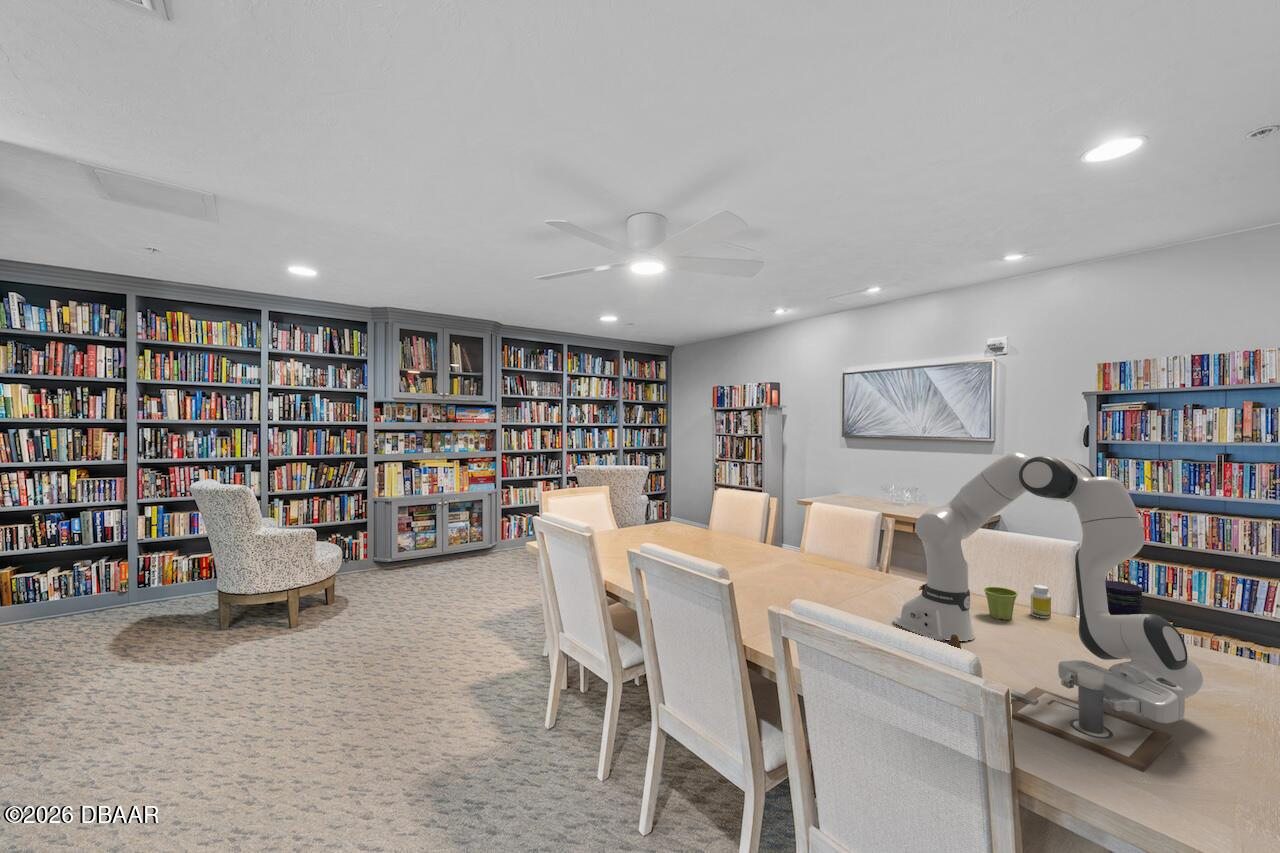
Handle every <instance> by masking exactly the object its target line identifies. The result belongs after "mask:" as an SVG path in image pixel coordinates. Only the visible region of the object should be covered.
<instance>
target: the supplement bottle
mask: <svg viewBox="0 0 1280 853" xmlns="http://www.w3.org/2000/svg"><path fill="white" fill-rule="evenodd" d="M1032 587H1033V591H1031V593H1030V615H1032V616H1033V617H1035V616H1036V618H1039V617H1040V619H1050V618H1051V617H1052V613H1051V612H1052V596H1051V595H1050V593H1049V587H1048V586H1046V585H1042V584H1034V585H1033V586H1032Z"/></svg>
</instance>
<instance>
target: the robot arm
mask: <svg viewBox="0 0 1280 853" xmlns="http://www.w3.org/2000/svg"><path fill="white" fill-rule="evenodd" d="M1027 492H1029V493H1031V494H1032V495H1034V496H1037V497H1040V498H1044V499H1048V500H1051V501H1057V502H1058V501H1063V502H1067V503H1071V504H1073V506H1074V508H1075V509H1076V511H1077V514H1078V518H1079V521H1080V525H1081V529H1082V530H1081V532H1082V539H1081V544H1080V547H1079V548H1078V550H1077V551H1076V553H1075V557H1074V558H1075V560H1074V561H1075V562H1074V565H1075V566H1074V567H1075V577H1076V587H1077V598H1078V599H1077V600H1078V604H1079V605H1078V607H1079V608H1078V610H1079V619H1078V620H1079V621H1078V637H1079V639H1080V641H1081V644H1083V645H1084V647H1085V648H1086V649H1087V650H1088V651H1089V652H1090V653H1092V655H1094V656H1096V657H1097V658H1099V659H1101V660H1104V661H1105V660H1106V661H1111V660H1130V661H1123V662H1119V663H1115V664H1112V665H1111V666H1110V667H1109V668H1108V669H1107V668H1105V667H1102V666H1099V665H1098V664H1095V663H1092V662H1090V661H1087V660H1078V659H1077V660H1065V661H1059V662H1058V666H1057V673H1058V677H1059V678H1060V680H1061V681H1060V684H1061V686H1062V687H1065V688H1066V689H1067V688H1068V689H1073V688H1075V686H1077V687H1078V667H1090V668H1094V669H1097V670H1099V671H1101V672H1103V673H1104V689H1103V699H1105V700H1107V701H1109V702H1108V703H1109V705H1108V706H1109V708H1111V709H1112V710H1115V711H1116V712H1122V711H1123V712H1128V713H1129V712H1130V713H1136V714H1138V715H1140V716H1142V717H1145V718H1146V719H1149V720H1152V721H1154V722H1155V723H1160V724H1172V723H1174V722H1177V721H1182V720H1184V716H1185V709H1186V702H1185V700H1186V699H1187V698H1188V699H1189V698H1190V697H1192V696H1194V695H1196V694H1197V693H1198V692H1199V691H1200V690H1201V688H1202V686H1203V684H1204V677H1203V674H1202V671H1201V669H1200V668H1199V667H1198V666H1197V664H1196V663H1195V662H1194V661H1193V660H1191V659H1190V658H1189V657H1188V650H1187V646H1186V643H1185V641H1184V638H1183V637H1182V635H1181V633H1180V632H1179V631H1178V630H1177V628H1176V627H1175V626H1174V625H1173V624H1172V623H1171V622H1170V621H1168V620H1167V619H1165V618H1163V617H1162V616H1160V615H1158V614H1155V613H1154V614H1153V613H1149V614H1148V613H1147V614H1146V613H1141V614H1130V615H1110V613H1109V611H1108V604H1107V595H1106V586H1105V581H1107V580H1106V579H1107V577H1108V574H1109V573H1110V572H1111V570H1113V569H1114V568H1115V567H1117V566H1118V565H1120V564H1122V563H1124V562H1126V561H1128V560H1130V559H1131V558H1133V557H1134V556H1136V555H1137V554H1138V553H1140V551H1141V550H1142V548H1143V546H1144V545H1145V538H1146V537H1145V530H1144V528H1143V525H1142V521H1141V518H1140V516H1139V513H1138V510H1137V508H1136V505H1135V504H1134V501H1133V499H1132V497H1131V495H1130V493H1129V492H1128V490H1127V489H1126V487H1125V485H1124V484H1123V482H1121V481H1120V480H1119V479H1117V478H1114V477H1110V476H1104V475H1103V476H1102V475H1101V476H1095V474H1094V473H1093V471H1091V469H1089V468H1088V467H1086V465H1083V464H1081V463H1077V462H1074V461H1072V460H1069V459H1066V458H1058V457H1053V456H1051V455H1050V456H1048V455H1041V456H1035V457H1030V456H1029V455H1027V454H1026V453H1023V452H1019V451H1018V452H1017V451H1016V452H1010V453H1007V454H1006V455H1004V456H1002V457H1000V458H998V459H997V460H996V461H994V462H992V463H990V464H989V465H988V466H987V467H986V468H984V469H983V470H981V471H980V472H979V473H977V475H976V476H973V478H971V480H970V481H968V482H967V483H966V484H964V485H963V486H962V487H961V488H960V490H959V491H958V493H956V495H955V496H954V497H953V498H952V499H951V500H950V501H948V503H946V504H945V505H942V506H940V507H936V508H932V509H929V510H927V511H925V512H924V513H922V514H921V515H920V516H919V517H918V519H917V520H916V522H915V527H914V528H915V532H916V535H917V537H918V538H919V539H920V540H921V542H922V545H923V546H922V547H923V550H924V554H925V558H926V583H924V584H922V585H920V586H919V587H918V591H921V594H918V596H915V597H914V598H911V599H910V600H908V601H906V602H905V603H904V604H903V605H902V608H901V612H900V614H899V615H897V616H895V617H894V618H893V621H892V622H893V624H894V625H896V624H897V625H896V626H898V625H899V626H898V627H901V626H902V627H901V628H903V629H905V630H906V631H910V632H912V633H914V634H917V635H919V634H920V635H919V636H921V635H923V636H922V637H924V636H927V637H929V638H933V639H935V640H934V641H945V640H946V639H951V635H957V636H958V639H959V641H960V640H962V641H965V642H969V641H968V640H971V641H973V640H974V639H975V638H976V636H975V633H974V630H973V624H972V621H971V617H970V616H971V614H970V608H971V592H970V591H971V590H970V589H969V564H968V561H967V560H966V559H965V556H964V552H963V548H962V541H963V540H966V539H968V538H969V537H971V536H972V535H974V534H975V533H976V532H977V531H978V530H980V529H981V528H982V527H983V526H984V525H985V524H986V523H987V522H988V521H989V520H990V519H991V518H993V517H994V516H995V515H996V514H998V513H999V512H1001V511H1002V510H1003V509H1005V508H1006V507H1007V506H1009V505H1010V504H1011V503H1012V502H1014V501H1015V500H1017V499H1018V498H1019V497H1021V496H1022V495H1023V494H1025V493H1027ZM913 630H914V631H913ZM943 639H945V640H943Z"/></svg>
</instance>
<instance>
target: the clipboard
mask: <svg viewBox="0 0 1280 853" xmlns="http://www.w3.org/2000/svg"><path fill="white" fill-rule="evenodd" d="M1010 693H1011V698H1013V699H1015V700H1013V701H1012V702H1011V703H1012V717H1011V718H1012V719H1015V720H1017V721H1019V722H1021V723H1025V724H1027V725H1030V726H1032V727H1034V728H1036V729H1039V730H1041V731H1043V732H1046V733H1049V734H1052V735H1054V736H1056V737H1059V738H1061V739H1064V740H1067V741H1069V742H1071V743H1073V744H1075V745H1079V746H1081V747H1083V748H1086V749H1088V750H1091V751H1093V752H1095V753H1098V754H1101V755H1103V756H1105V757H1108V758H1110V759H1113V760H1115V761H1117V762H1120V763H1122V764H1125V765H1127V766H1130V767H1132V768H1134V769H1137V770H1139V771H1143V772H1144V771H1145V770H1146V769H1147V768H1148V767H1149V766H1150V765H1151V764H1152V763H1153V761H1154V760H1155V759H1156V758H1157V757H1158V756H1159V755H1160V754H1161V752H1162V751H1163V750H1164V749H1165V748H1166V746H1167V745H1168V744H1169V742H1171V741H1170V740H1172V739H1173V738H1172V737H1173V735H1172V734H1169V733H1167V732H1165V731H1161V730H1158V729H1155V728H1153V727H1150V726H1146V725H1144V724H1141V723H1139V722H1135V721H1132V720H1129V719H1127V718H1124V717H1121V716H1118V715H1116V714H1113V713H1109V712H1107V711H1105V710H1103V719H1104V732H1103V733H1102V734H1096V733H1091V732H1088V731H1085V730H1083V729H1082V728H1080V727H1079V701H1076V700H1073V699H1070V698H1068V697H1066V696H1065V697H1064V696H1063V695H1059V694H1056V693H1054V692H1051V691H1049V690H1046V689H1043V688H1040V687H1037V686H1035V687H1034V688H1032V689H1031V690H1029V691H1028V692H1026V693H1021V692H1019V691H1016V690H1012V691H1011V692H1010ZM1162 749H1163V750H1162Z"/></svg>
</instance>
